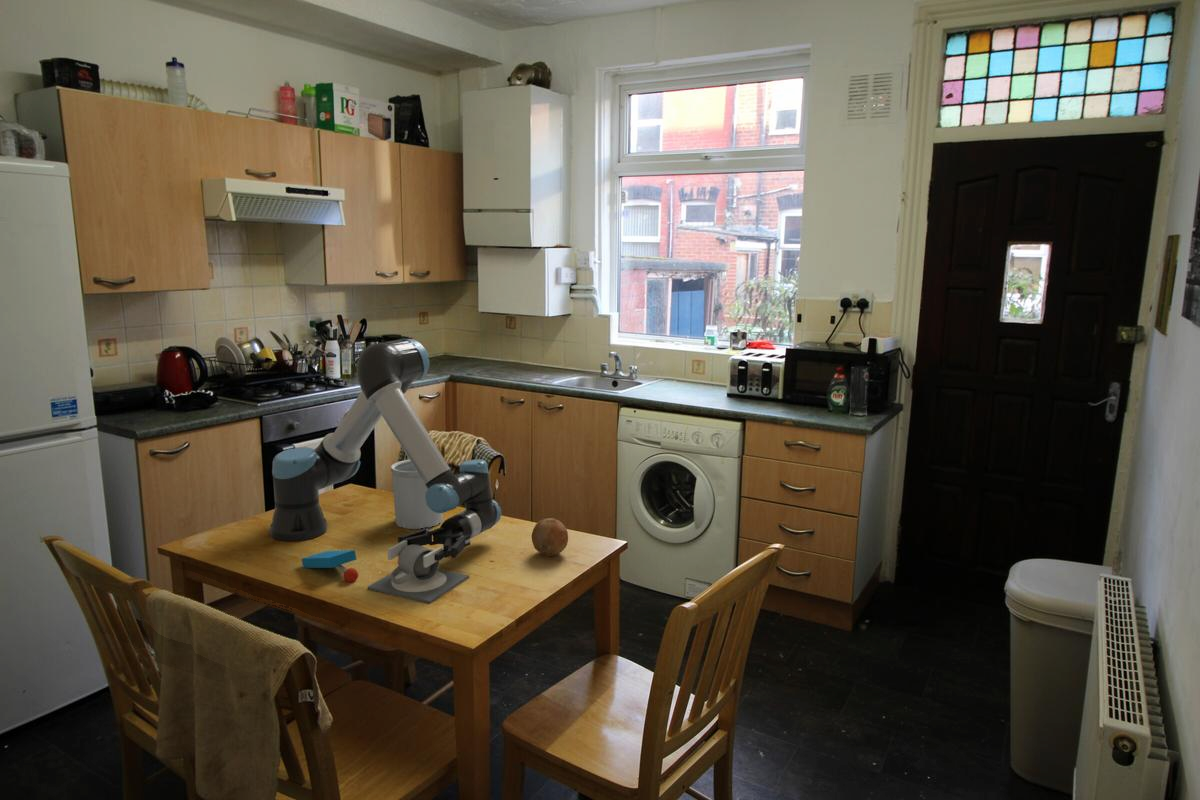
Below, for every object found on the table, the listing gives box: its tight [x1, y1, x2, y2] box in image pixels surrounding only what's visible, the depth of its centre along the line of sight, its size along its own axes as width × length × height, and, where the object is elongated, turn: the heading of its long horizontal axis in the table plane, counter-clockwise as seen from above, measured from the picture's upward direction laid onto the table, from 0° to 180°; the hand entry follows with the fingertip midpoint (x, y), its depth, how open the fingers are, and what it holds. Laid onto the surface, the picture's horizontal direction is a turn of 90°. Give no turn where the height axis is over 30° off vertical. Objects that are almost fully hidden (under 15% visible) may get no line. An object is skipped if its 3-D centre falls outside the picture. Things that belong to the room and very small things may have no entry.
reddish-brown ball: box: [531, 517, 569, 557], centre depth 208 cm, size 10×10×10 cm
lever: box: [301, 549, 359, 583], centre depth 196 cm, size 7×7×18 cm
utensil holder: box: [390, 459, 444, 530], centre depth 231 cm, size 15×15×18 cm
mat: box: [367, 568, 470, 604], centre depth 190 cm, size 18×16×1 cm
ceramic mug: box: [390, 545, 441, 584], centre depth 188 cm, size 11×8×8 cm
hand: (406, 558), depth 184 cm, fingers closed on ceramic mug, 10 cm apart
